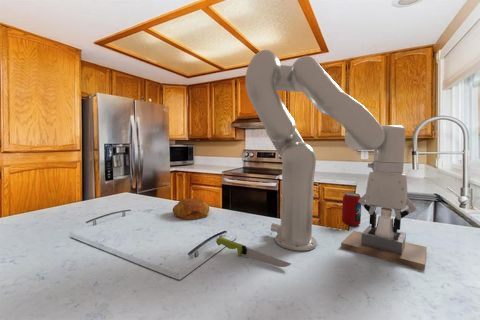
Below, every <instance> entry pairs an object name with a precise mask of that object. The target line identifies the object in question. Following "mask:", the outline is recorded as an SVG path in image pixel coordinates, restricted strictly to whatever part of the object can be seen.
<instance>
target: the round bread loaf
mask: <svg viewBox="0 0 480 320" xmlns="http://www.w3.org/2000/svg"><path fill="white" fill-rule="evenodd" d="M172 212H173V215H174V216H175V217H176V218H179V219H181V220H199V219H202V218H206V217H207V218H208V214H209V212H210V205H209V204H207V203H206V202H205V201H203V199H201V198H187V199H181V200H180V201H178V202H177V203H176V204H175V205H174V206H173V207H172Z"/></svg>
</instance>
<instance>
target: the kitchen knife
mask: <svg viewBox="0 0 480 320" xmlns="http://www.w3.org/2000/svg"><path fill="white" fill-rule="evenodd" d="M215 243H216V244H217V245H218V246H221V245H222V246H224V247H225V248H227V249H230V250H236V251H237V257H245V258H248V259H251V260H254V261H258V262H260V263H264V264H268V265H271V266H274V267H275V266H276V267H279V268H286V267H289V266H291V265H292V263H291V262H288V261H285V260H282V259H279V258H278V257H274V256H271V255H268V254H266V253H262V252H260V251H257V250H255V249H252V248H249V247H247V246H246V245H243V244H241V243H239V242H236V241H234V240H233V241H232V240H229V239H227V238H224V237H218V238H216V241H215Z"/></svg>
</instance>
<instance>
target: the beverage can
mask: <svg viewBox="0 0 480 320" xmlns="http://www.w3.org/2000/svg"><path fill="white" fill-rule="evenodd" d="M361 197H362V196H361V195H360V194H359V193H356V192H345V193H344V195H343V196H342V205H341V207H342V209H341V222H342V223H343V224H345V225H347V226H351V227H357V226H359V225H361V221H362V217H361V216H362V205H361V204H360V203H359V202H358V200H359V199H360V198H361Z"/></svg>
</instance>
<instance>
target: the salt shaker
mask: <svg viewBox="0 0 480 320" xmlns="http://www.w3.org/2000/svg"><path fill="white" fill-rule="evenodd" d="M392 212H393V209H389V208H383V207H380V214H379V215H378V216H377V221H376V226H375V227H376V232H375V235H376V236H380V237H385V238H389V239H394V232H393V227H394V218H393V216H392Z"/></svg>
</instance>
